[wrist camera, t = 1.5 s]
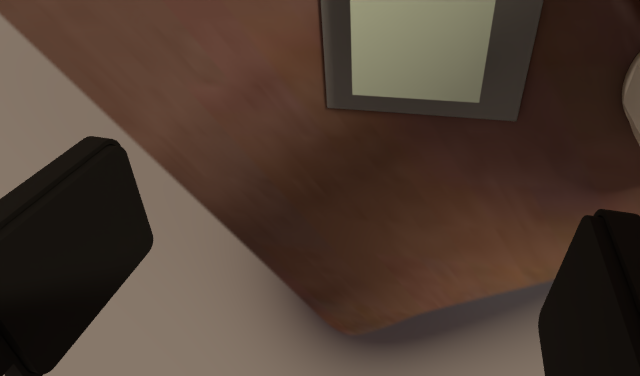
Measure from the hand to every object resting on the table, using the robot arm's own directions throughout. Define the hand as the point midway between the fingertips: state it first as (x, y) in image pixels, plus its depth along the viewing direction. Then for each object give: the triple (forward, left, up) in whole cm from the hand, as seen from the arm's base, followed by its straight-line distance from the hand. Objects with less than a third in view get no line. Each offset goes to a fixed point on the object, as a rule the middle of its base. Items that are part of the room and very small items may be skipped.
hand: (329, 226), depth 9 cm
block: (0, +1, -20) cm, 20 cm away
